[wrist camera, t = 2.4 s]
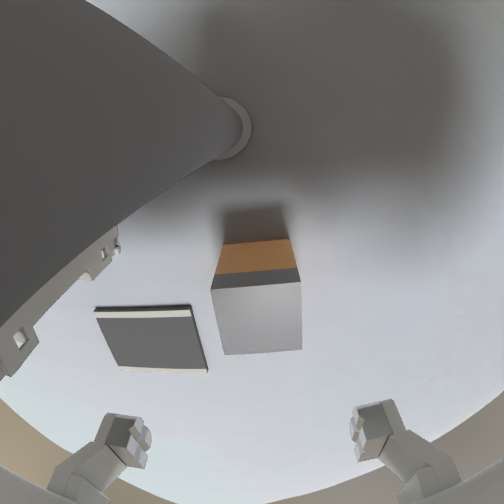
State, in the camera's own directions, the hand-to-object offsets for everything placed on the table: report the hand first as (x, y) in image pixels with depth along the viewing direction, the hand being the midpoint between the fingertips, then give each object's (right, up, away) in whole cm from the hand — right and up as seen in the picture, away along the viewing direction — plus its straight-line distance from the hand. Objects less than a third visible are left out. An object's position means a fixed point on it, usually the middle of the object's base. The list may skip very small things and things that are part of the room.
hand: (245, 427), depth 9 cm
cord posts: (-13, +13, +8) cm, 20 cm away
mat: (-9, -1, +14) cm, 17 cm away
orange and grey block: (+1, +5, +11) cm, 13 cm away
